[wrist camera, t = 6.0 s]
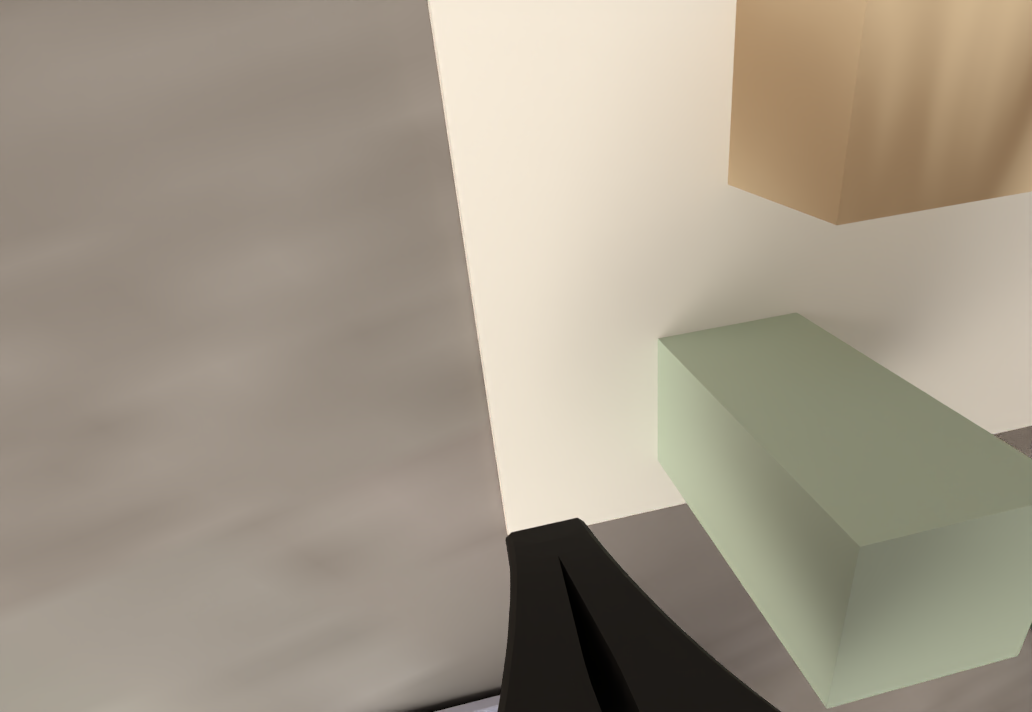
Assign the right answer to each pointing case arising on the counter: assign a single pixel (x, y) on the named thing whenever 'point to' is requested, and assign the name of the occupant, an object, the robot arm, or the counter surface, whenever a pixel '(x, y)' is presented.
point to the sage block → (848, 505)
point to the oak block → (881, 104)
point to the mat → (676, 247)
